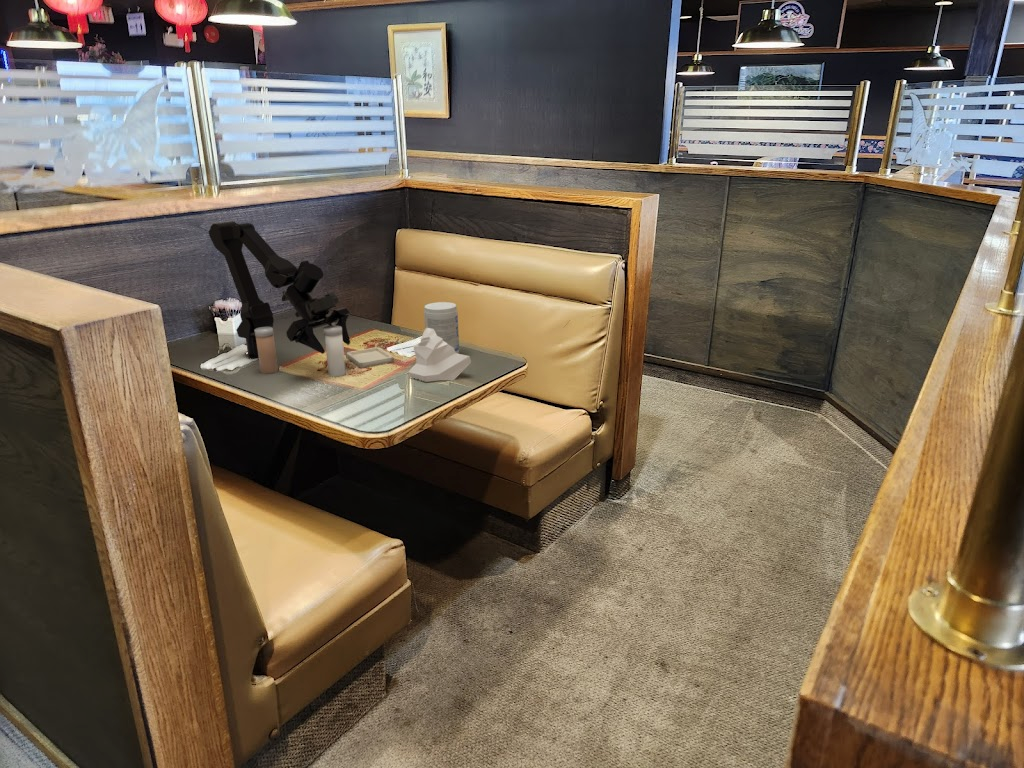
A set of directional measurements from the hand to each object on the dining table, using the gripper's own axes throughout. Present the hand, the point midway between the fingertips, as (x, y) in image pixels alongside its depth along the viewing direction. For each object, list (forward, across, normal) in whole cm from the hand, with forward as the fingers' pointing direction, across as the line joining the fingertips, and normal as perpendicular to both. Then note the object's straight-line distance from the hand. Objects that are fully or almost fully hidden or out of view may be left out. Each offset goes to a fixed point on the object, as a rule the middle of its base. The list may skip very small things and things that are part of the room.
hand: (336, 348), depth 193 cm
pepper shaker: (-8, -8, +19) cm, 22 cm away
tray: (+4, +14, +7) cm, 16 cm away
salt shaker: (+5, 0, +6) cm, 7 cm away
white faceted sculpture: (+22, +13, -10) cm, 28 cm away
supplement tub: (+14, +29, -3) cm, 33 cm away
